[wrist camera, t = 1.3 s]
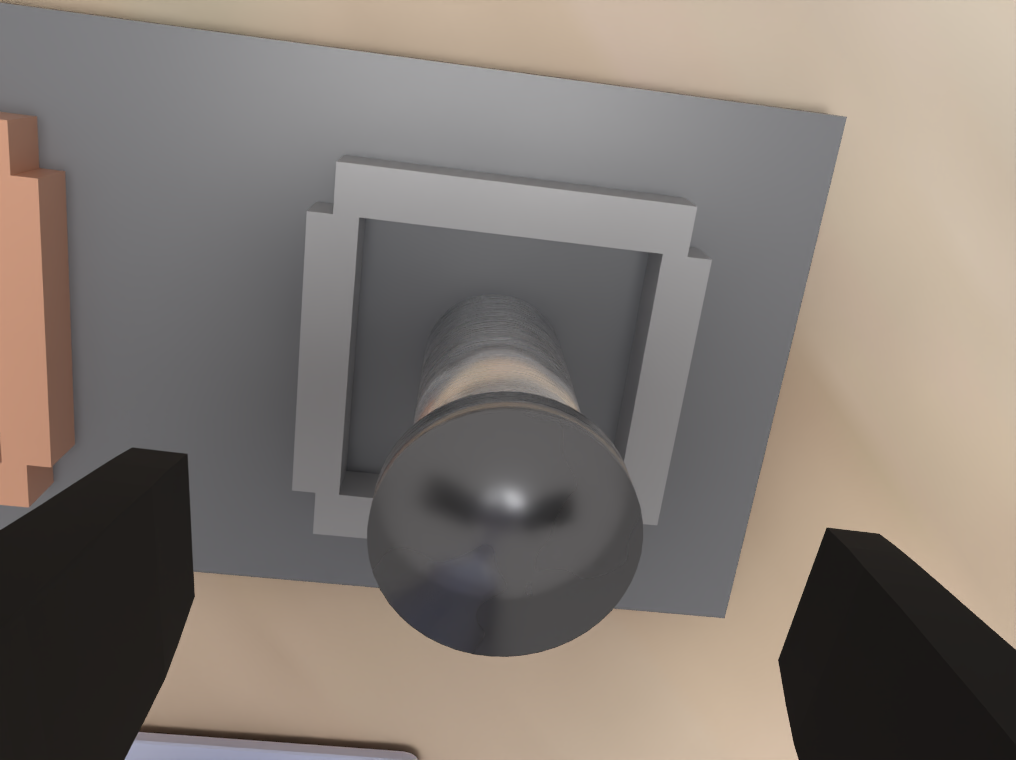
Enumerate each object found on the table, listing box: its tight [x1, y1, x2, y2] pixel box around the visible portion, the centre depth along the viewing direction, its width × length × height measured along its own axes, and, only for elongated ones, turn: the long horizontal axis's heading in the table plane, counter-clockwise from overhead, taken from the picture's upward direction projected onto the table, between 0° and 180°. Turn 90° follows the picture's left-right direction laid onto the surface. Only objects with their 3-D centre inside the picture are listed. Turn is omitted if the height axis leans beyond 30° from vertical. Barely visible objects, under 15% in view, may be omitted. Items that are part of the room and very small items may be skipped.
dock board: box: [0, 2, 847, 618], centre depth 19 cm, size 12×26×2 cm, turn 83°
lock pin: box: [367, 294, 643, 657], centre depth 16 cm, size 4×4×8 cm
